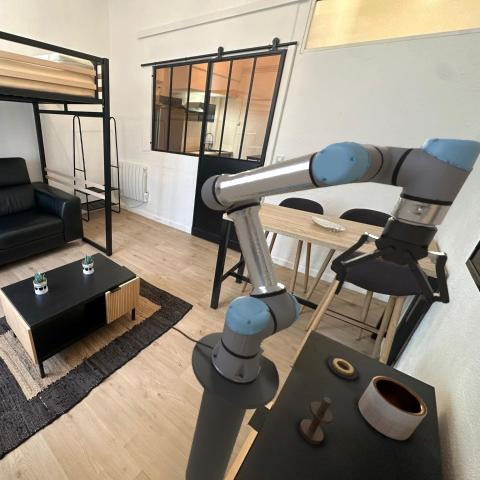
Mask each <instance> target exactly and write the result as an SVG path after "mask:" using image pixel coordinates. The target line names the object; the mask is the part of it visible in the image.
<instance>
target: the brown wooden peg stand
mask: <svg viewBox="0 0 480 480" xmlns="http://www.w3.org/2000/svg"><path fill="white" fill-rule="evenodd" d="M331 403H332V400H331V399H330V398H329V397H327V396H324V397H323V399H322V401H321V402H319V401H313V402H311V403H310V405H309V411H310V413H311V415H312V416H313V419H309V418H304V419H302V421H301V422H300V424H299V426H298V429H299V433H300V434H301V436H302V438H304V440H305V441H307V442H308V443H310V444H311V445H315V446H316V445H317V446H318V445H321V443H322V442H323V440H324V437H325V436H324V435H325V434H324V431H323V429H322V428H321V426H320V424H321V423H322V424H325V425H328V424H331V423H332V422H333V419H334V416H333V413H332V411H331V410H330V408H329V407H330V405H331Z"/></svg>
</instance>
